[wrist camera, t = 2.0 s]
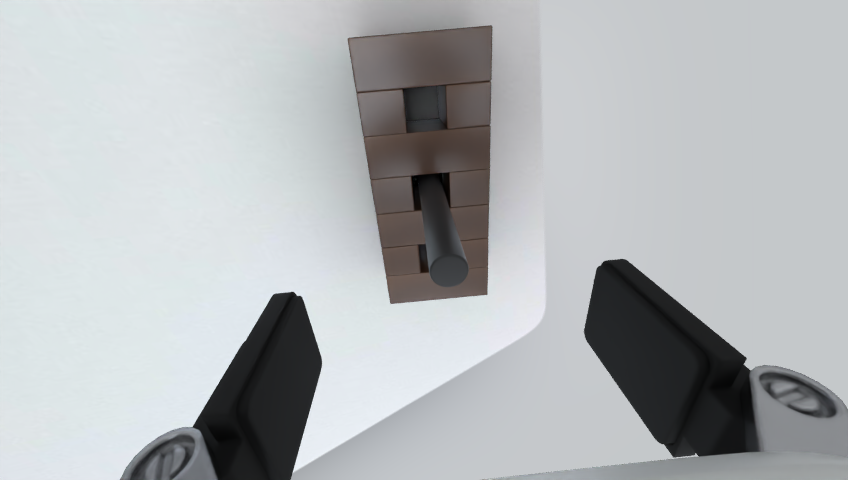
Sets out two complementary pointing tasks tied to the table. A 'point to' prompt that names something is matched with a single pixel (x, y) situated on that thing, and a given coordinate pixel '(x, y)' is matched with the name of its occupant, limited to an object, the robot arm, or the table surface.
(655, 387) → the robot arm
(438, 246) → the stylus
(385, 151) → the pen stand
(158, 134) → the table surface
